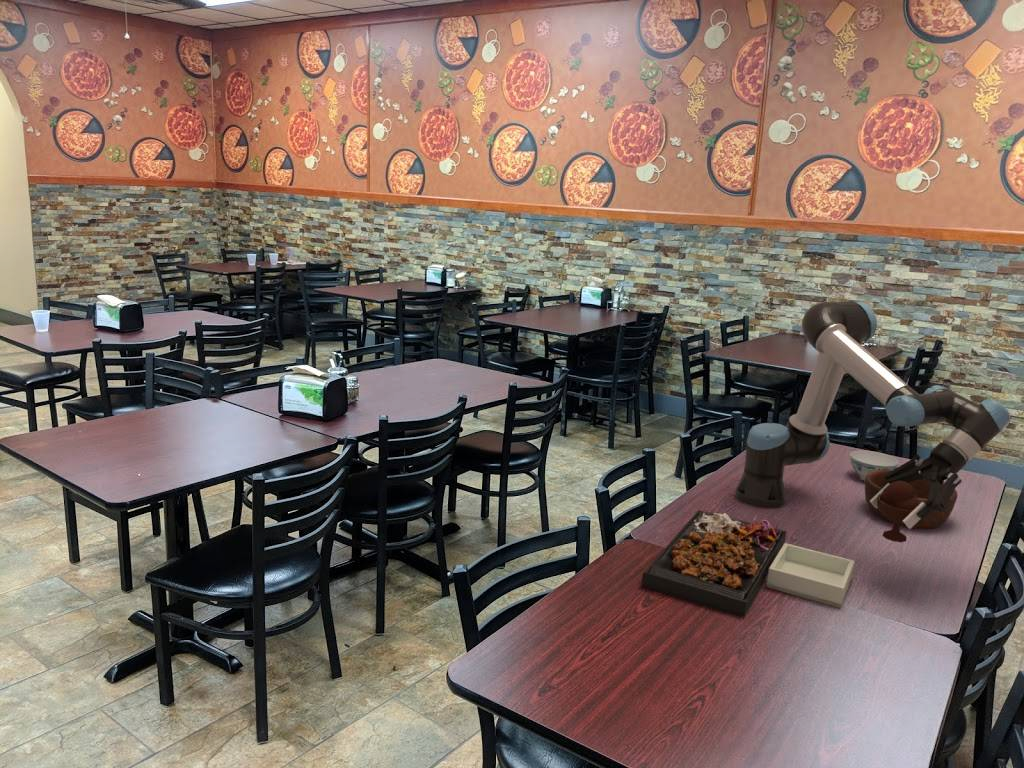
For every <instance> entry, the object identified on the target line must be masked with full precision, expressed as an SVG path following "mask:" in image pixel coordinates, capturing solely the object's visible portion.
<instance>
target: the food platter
mask: <svg viewBox="0 0 1024 768" xmlns="http://www.w3.org/2000/svg"><path fill="white" fill-rule="evenodd" d="M757 518H758V514H757V513H756V514H755V517H754V519H753V522H749V521H746V520H741V519H737V518H733V517H730V516H729V515H728V514H727V513H726V512H724V513H717V512H714V513H712V512H709V511H704V510H700V509H699V510H697V511H696V512H695V514H694V515H693V516H692V517H691V518H690V519H689V520H688V521H687V523H685V525H684V526H682V528H681V529H680V530H679V532H678V533H677V534H676V535H675V536H674V537H673V539H672V540H671V541H670V542H669V543H668V544H667V546H665V548H663V550H662V551H661V552H660V553H659V555H657V557H655V559H654V560H653V561H652V562H651V564H650V565H649V566H648V567H647V568H646V569H645V570H644V571H643V573H642V580H641V588H643V589H648V590H650V591H653V592H654V591H655V592H657V593H660V594H665V595H666V596H671V597H674V598H677V599H681V600H684V601H687V602H692V603H695V604H698V605H702V606H705V607H708V608H712V609H715V610H718V611H722V612H726V613H729V614H731V615H735V616H739V617H741V618H746V615H747V614H748V612H749V610H750V608H751V607H752V605H753V603H754V602H755V599H756V598H757V595H758V594H759V592H760V590H761V589H762V586H763V585H764V584H765V581H766V579H768V572H769V568H770V566H771V564H772V563H773V561H774V560H775V558H776V556H777V555H778V553H779V551H780V550H781V548H782V547H783V545H784V543H786V541H787V539H786V538H787V531H786V530H782V529H778V526H779V523H780V521H781V518H779V519H778V520H777V523H776V525H775V526H772V525H771V523H770V522H769V521H768V520H767V519H765V518H764V519H763V520H760V523H759V522H757Z"/></svg>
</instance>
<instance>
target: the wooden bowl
mask: <svg viewBox="0 0 1024 768" xmlns="http://www.w3.org/2000/svg"><path fill="white" fill-rule="evenodd" d="M891 471H892V470H877V471H873V472H870V473H868V474H867V475H866V477H865V481H864V495H865V496H864V497H865V501H866V502H865V503H866V505H867V507H868V509H869V511H870V512H871V513H872V514H873V515H874V516H875V517H877V518H879V519H881V520H882V521H885V522H887V523H889V524H893V522H892V521H890V520H889V519H887V518H886V517H885V516H884V515H883V514H882V513H881V512H880V510H879V509H878V508H877V509H876V508H875V507H874V506H873V505H872V503H871V502H870V500H871V499H872V498H873V497H874V496H875V495H876V494H877V493H878V491H879V489H881V487H882V486H884V485H885V484H886V480H885V478H884V475H885V474H887V473H889V472H891ZM890 478H891V477H890ZM945 482H946V481H944V482H943V486H944V484H945ZM909 484H910V485H911V486H912V487H913V488H914V490H915V494H916V498H917V499H918V500H919V501H921V502H924V503H925V501H927V497H928V493H929V489H930V485H931V482H930V481H929V480H925V479H922V480H920V479H917V480H915V481H912V482H909ZM943 486H942V488H943ZM942 488H941V489H942ZM940 491H941V490H940ZM957 499H958V491H957V490H956V489H955V490H954V492H953V493H952V495H951V497H950V499H949V501H948V503H947V505H946V507H945V508H944V510H943V511H942V512H939V511H938V510H934V511H931V512H930V513H929V514H928V515H927V516H926V517H925V518H924V519H920V520H919V521H918V522H917V523H916V524H915V525H914V526H913V527H912V528H911V529H918V530H919V529H922V530H928V529H934V528H938V527H940V526H941V525H942V524H944V523H945V522H946V521H947V520H948V518H949V517H950V516H951V514H952V512H953V510H954V508H955V505H956V502H957ZM925 504H926V503H925ZM900 527H905V528H908V527H907V526H906V525H905V524H902V525H901V526H900Z"/></svg>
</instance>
